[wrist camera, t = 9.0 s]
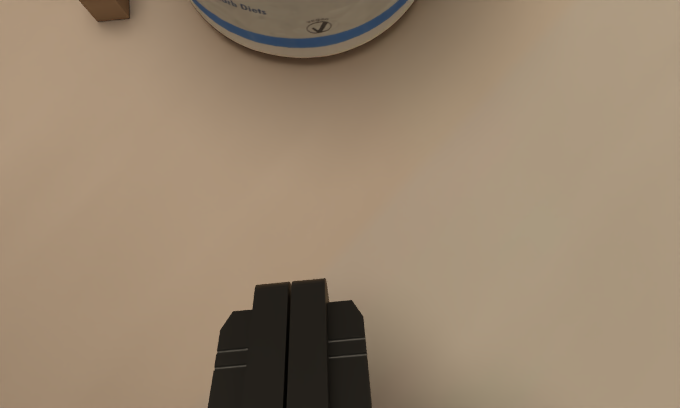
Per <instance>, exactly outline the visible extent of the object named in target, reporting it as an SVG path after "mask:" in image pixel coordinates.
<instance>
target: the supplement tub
mask: <svg viewBox="0 0 680 408" xmlns="http://www.w3.org/2000/svg"><path fill="white" fill-rule="evenodd" d="M190 1H191V3H192V4H193V6H194V7H195V8H196V9H197V10H198V12H199V13H200V14H201V15H202V16H203V18H204V19H205V20H206V21H207V22H208V23H209V24H211V25H212V26H213V27H214V28H215V29H217V30H218V31H219V32H221V33H222V34H223V35H225V36H226V37H228V38H230V39H231V40H233V41H234V42H236V43H238V44H241V45H243V46H245V47H247V48H250V49H252V50H256V51H259V52H263V53H267V54H271V55H277V56H283V57H293V58H312V57H323V56H330V55H334V54H338V53H342V52H345V51H348V50H351V49H353V48H356V47H358V46H360V45H363V44H365V43H366V42H368V41H370V40H372V39H374V38H375V37H377V36H378V35H380V34H381V33H383V32H384V31H385V30H387V29H388V28H389V27H391V26H392V25H393V24H394V23H395V22H396V21H397V20H398V19H399V18H401V16H402V15H403V14H404V13H405V12H406V11H407V9H408V8H409V7H410V6H411V5H412V3H413V2H414V0H190Z"/></svg>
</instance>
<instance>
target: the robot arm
mask: <svg viewBox="0 0 680 408" xmlns="http://www.w3.org/2000/svg"><path fill="white" fill-rule="evenodd" d="M208 408H372V403H371V392H370V382H369V371H368V360H367V350H366V340H365V330H364V320H363V316H362V314H361V313H360V311H359V310H358V309H357V307H356V306H355V304H354V303H353V301H352V300H349V301H338V302H329V297H328V289H327V283H326V279H325V278H324V279H313V280H303V281H292V285H291V283H290V282H283V283H272V284H262V285H256V287H255V292H254V301H253V310H243V311H233V312H232V314H231V315H230V317H229V318H228V320H227V321H226V323H225V324H224V326H223V327H222V328H221V330H220V336H219V342H218V348H217V354H216V360H215V371H214V372H213V379H212V385H211V391H210V397H209V403H208Z"/></svg>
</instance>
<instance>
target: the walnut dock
mask: <svg viewBox="0 0 680 408" xmlns="http://www.w3.org/2000/svg"><path fill="white" fill-rule="evenodd" d="M79 1H80V2H81V3H82V4H83V6H84V7H85V8H86V9H87V10H88V11H89V12H90V13H91V15H92V16H93V17H94V18H95V19H96V20H97V21H106V20H116V19H125V18H129V0H79Z"/></svg>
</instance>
